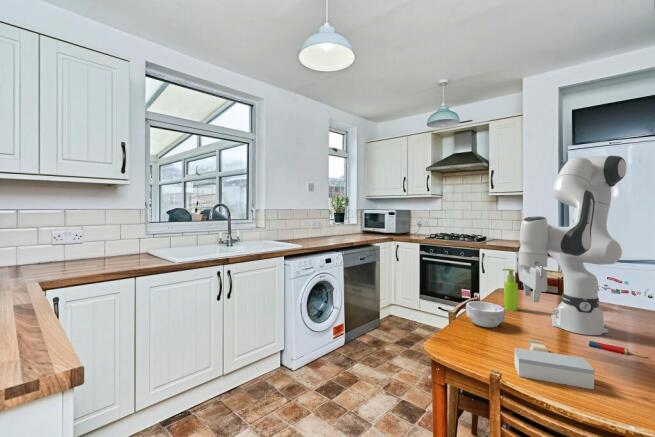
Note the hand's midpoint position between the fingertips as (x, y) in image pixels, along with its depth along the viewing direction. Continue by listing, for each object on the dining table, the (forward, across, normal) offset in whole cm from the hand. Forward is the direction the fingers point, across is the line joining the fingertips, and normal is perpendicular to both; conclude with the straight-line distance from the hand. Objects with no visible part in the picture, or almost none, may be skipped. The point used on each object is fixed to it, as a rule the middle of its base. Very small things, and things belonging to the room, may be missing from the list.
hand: (531, 298), depth 116 cm
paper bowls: (+17, +20, +12) cm, 29 cm away
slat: (+18, -9, -1) cm, 20 cm away
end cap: (+18, -22, 0) cm, 29 cm away
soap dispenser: (+16, +47, -4) cm, 49 cm away
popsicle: (+17, +4, -28) cm, 33 cm away
